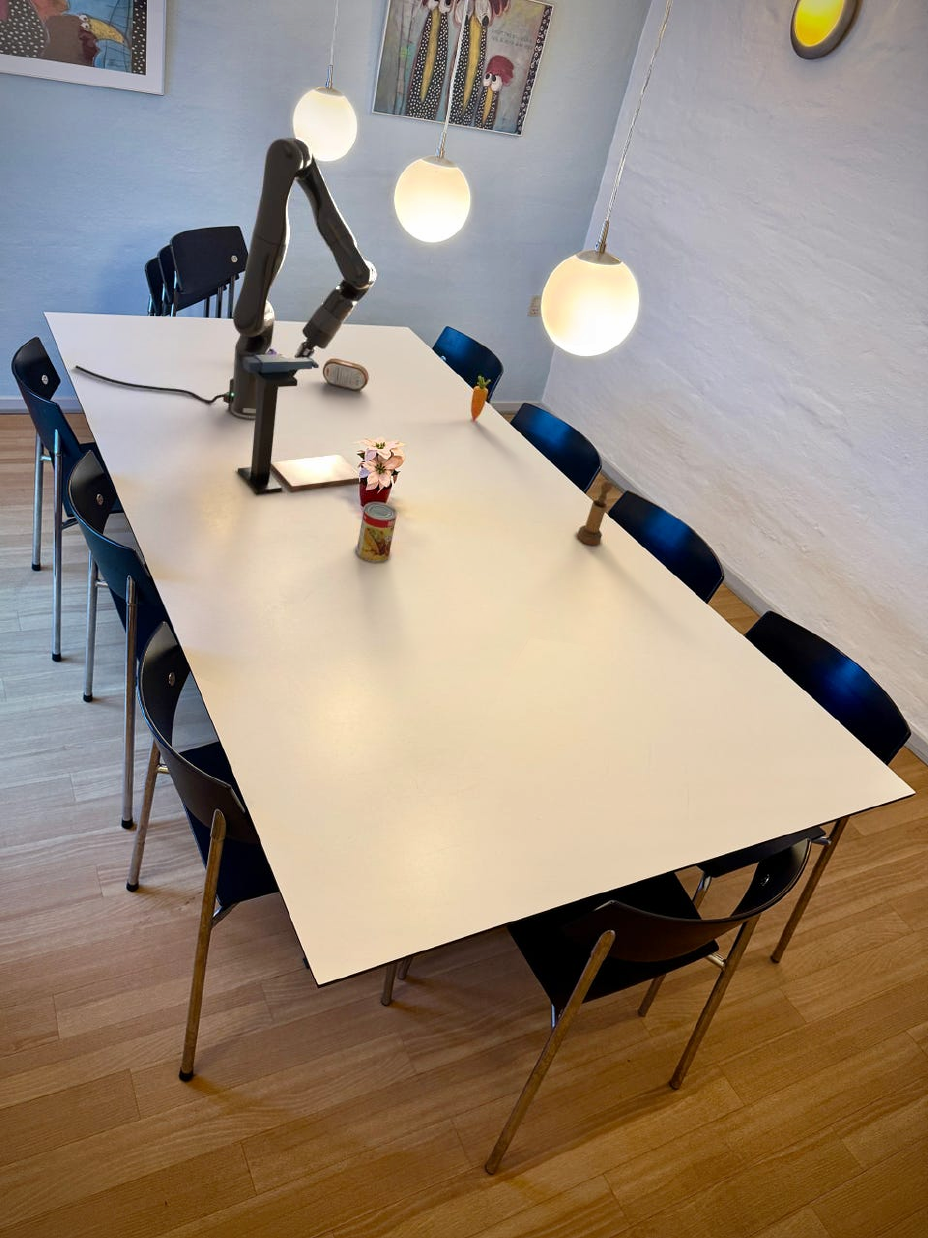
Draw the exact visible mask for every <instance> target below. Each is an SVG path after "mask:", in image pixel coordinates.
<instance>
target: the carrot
mask: <svg viewBox="0 0 928 1238" xmlns="http://www.w3.org/2000/svg"><path fill="white" fill-rule="evenodd" d="M477 380H478V382H477V383H476V384H477V385H476V386H475V387H474V388H473V390H472V391H473V392H472V396H471V402H470V413H471V418H472V420H473V421H475V420H477V419H478V418H479V417H480V415H481V413H482V411H483V409H484V407H485V404H486V402H487V397H488V393H489V390H488V389H487V388H486V387H487V385H488V384H489V383H490V382H491V379H488V380H486V381H485V378H484V377H482V376H481V375H479V376H478V377H477Z"/></svg>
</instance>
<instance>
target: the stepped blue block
mask: <svg viewBox="0 0 928 1238" xmlns="http://www.w3.org/2000/svg"><path fill="white" fill-rule="evenodd" d="M243 367H244V368H245V369H246V370H247V371H248V372H249V373H251V372H261V373H270V372H289V370H297V369H300V370H312V369H319V368H320V365H319V364H318V363H317V362H316V361H315V360H314V358H312V357H310V358H309V357H305V358H294V357H286V356H285V355H283V354H282V353H277V354H273V355H255V357H244V362H243Z"/></svg>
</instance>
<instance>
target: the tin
mask: <svg viewBox="0 0 928 1238" xmlns="http://www.w3.org/2000/svg"><path fill="white" fill-rule="evenodd" d="M322 376H323V378H324V380H325V381H326V382H327V383H328V384H330V385H332V386H335V387H339V388H343V389H348V390H351V391H354V392H355V391H356V392H357V391H361V390H363V389H364V388H365V387H366V385H367V384H368V382H369V380H370V375H369V373H368V370H367V369H366V368H365V367H364V366H363V365H361V364H358V363H355V362H350V361H346V360H343V359H340V358H330V359H328V360H326V362H325V363H324V365H323V367H322Z"/></svg>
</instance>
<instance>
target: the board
mask: <svg viewBox="0 0 928 1238" xmlns="http://www.w3.org/2000/svg"><path fill="white" fill-rule="evenodd" d="M270 470H272V472H274V473H275V475H276V476H277V477H278V478H279V479H280V480H281V482H283V484H284V485H285V486H286V487H287V488H288V489H289V491H290V492H298V491H307V490H315V489H323V488H331V487H337V486H345V485H354V484H360V483H359V475H360V473H358V471H356V470H355V468H353V466H351V465H350V464H349V462H347V461H346V460H345V459H344V458H343V456H341V455H340V454H337V455H336V454H335V455H327V456H319V457H308V458H298V459H289V460H281V461H271V467H270Z"/></svg>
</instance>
